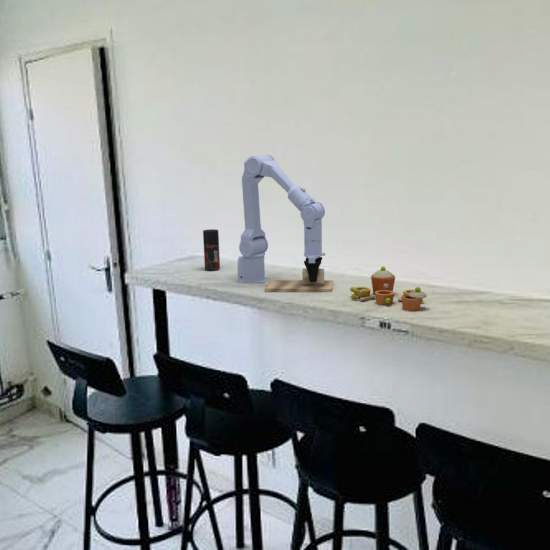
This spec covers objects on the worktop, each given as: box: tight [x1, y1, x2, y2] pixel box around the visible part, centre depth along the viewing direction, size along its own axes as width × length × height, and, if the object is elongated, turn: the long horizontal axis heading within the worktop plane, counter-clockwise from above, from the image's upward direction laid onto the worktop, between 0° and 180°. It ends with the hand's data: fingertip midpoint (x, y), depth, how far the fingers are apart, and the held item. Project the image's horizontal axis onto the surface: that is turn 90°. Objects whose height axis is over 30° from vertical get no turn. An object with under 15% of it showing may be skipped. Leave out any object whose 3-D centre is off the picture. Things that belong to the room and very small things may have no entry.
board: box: [264, 279, 334, 293], centre depth 201 cm, size 22×12×1 cm, turn 83°
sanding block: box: [301, 267, 325, 286], centre depth 200 cm, size 7×4×5 cm, turn 83°
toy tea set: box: [349, 266, 428, 312], centre depth 180 cm, size 26×16×10 cm, turn 41°
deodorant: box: [202, 228, 221, 271], centre depth 235 cm, size 6×6×15 cm
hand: (313, 280), depth 200 cm, fingers closed on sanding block, 4 cm apart
